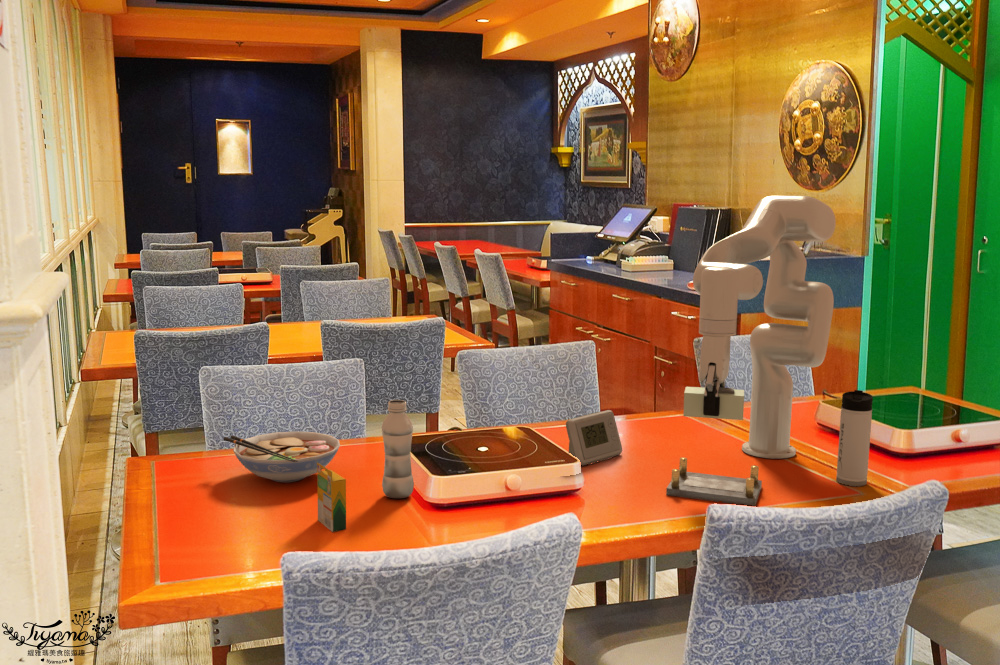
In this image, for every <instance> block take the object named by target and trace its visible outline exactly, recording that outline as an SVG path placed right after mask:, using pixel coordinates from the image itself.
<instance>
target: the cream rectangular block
mask: <svg viewBox="0 0 1000 665" xmlns="http://www.w3.org/2000/svg"><path fill="white" fill-rule="evenodd" d="M684 388H685V389H684V392H683V417H689V418H690V417H691V418H704V419H706V418H707V419H719V420H722V419H723V420H737V421H738V420H739V421H743V420H744V409H745V408H744V406H745V390H744V389H736V388H734V387H725V388H724V387H720V388H719V397H720V410H719V416H709V415H704V414H703V406H704V393H705V387H699V386H685V387H684ZM715 388H716V387H715Z"/></svg>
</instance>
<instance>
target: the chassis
mask: <svg viewBox="0 0 1000 665" xmlns="http://www.w3.org/2000/svg"><path fill="white" fill-rule="evenodd" d="M678 468H679V469H676V468H672V469H671V480H670V482H669V483H668V485H667V487H666V489H665V490H666V492H665V494H666V495H665V496H669V497H670V496H672V497H679V498H685V499H686V498H687V499H695V500H700V501H701V500H702V501H709V502H717V503H718V502H719V501H722V502H721V503H726V504H732V503H734V505H740V504H744V505H743V506H747V505H752V506H751V507H756V505H757V502H758V499H759V496H760V492H761V490H762V483H763V481H762V480H760V479H759V468H760V467H759V465H755V464H754V465H751V466H750V476H749V477H747V478H744V477H743V478H741V477H735V476H726V475H717V474H709V473H708V474H707V473H701V472H692V471H688V458H687V457H679V466H678ZM719 503H720V502H719Z"/></svg>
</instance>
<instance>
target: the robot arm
mask: <svg viewBox="0 0 1000 665" xmlns="http://www.w3.org/2000/svg"><path fill="white" fill-rule="evenodd" d="M835 230H836V216H835V213H834V211H833V209H832V208H831V206H829V205H828V204H826V203H825V202H823V201H821V200H819V199H818V198H815V197H812V196H808V195H777V194H776V195H769V196H765V197H763V198H761V199H760V200H759V201H758V202H757V203H756V204H755V207H754V208H753V210H752V211H751V212H750V215H749V217H748V218H747V220H746V221H745V223H744V225H743V226H742V228H741V230H739V231H737V232H735V233H733V234H732V233H731V234H730V235H729V236H726V237H725V238H723V239H721V240H719V241H716V242H715V243H714V244H712V245H711V246H710V247H709V248H708V249H706V251H705V252H704V253H703V255H702V256H701V259H700V260H699V262H698V263H697V266H696V267H695V270H694V272H693V277H692V286H693V290H695V292H696V293H697V294H698V295H699V296H700V297H699V298H700V299H699V319H698V320H699V323H698V334H699V335H702V338H701V339H702V340H701V346H700V347H701V348H700V355H699V356H700V358H699V370H698V381H699V383H703V382H704V381H705V383H704V384H705V385H704V388H705V393H704V406H703V414H704V415H709V416H719V410H720V397H719V388H720V387H724V388H726V379H727V378H728V376H729V372H730V361H731V359H730V358H731V343H732V341H731V337H733V336H736V335H737V323H738V319H737V318H738V306H739V304H738V303H739V302H738V300H741V301H748V300H749V301H750V300H752V299H755V298H756V297H758V295H759V294H760V292H761V290H762V288H763V284H764V278H763V274H762V272H761V270H760V269H759V268H758V267H756V266H755V265H751V263H755V262H758V261H760V260H764V259H766V258H768V257H769V267H768V274H767V281H766V286H765V292H764V298H763V310H764V313H765V315H767V316H769V317H770V318H774V319H779V320H787V321H798V322H799V321H800V322H807V326H806V325H795V324H789V323H787V324H786V323H777V322H776V323H775V322H767V323H761V324H759V325H757V326H756V327H754V328H753V329H752V331H751V334H750V338H749V345H750V348H749V349H750V354H751V364H752V365H751V367H752V375H751V376H752V377H751V378H752V379H751V380H752V381H751V397H750V398H751V399H750V414H749V416H750V418H749V434H748V441H747V442H744V443H742V445H741V450H742V452H744V453H745V454H747V455H750V456H754V457H756V458H763V459H772V460H773V459H775V460H776V459H779V460H780V459H789V458H792V457H795V455H796V454H797V453H796V452H797V450H796V448H795V447H794V446H793V445H791V443H790V442H791V441H790V440H791V439H790V438H791V426H792V425H791V423H792V409H793V394H794V392H793V391H794V381H793V378H792V376H791V373H790V371H789V370H788V369H787V367H786V366H793V367H802V368H803V367H804V368H816V367H819V366H821V365H822V364H823V362H824V361H825V358H826V356H827V355H826V354H827V350H828V344H829V338H830V333H831V326H832V319H833V313H834V305H835V304H834V303H835V301H834V300H835V299H834V292H833V290H832V288H831V286H829V285H828V284H827V283H824V282H819V281H810V280H808V281H807V280H806V279H805V278H806V272H807V265H808V263H807V262H808V261H807V259H806V256H805V254H804V253H803V251H802V249H801V248H800V247H799V246H798V244H797V243H796V242H811V243H812V242H815V243H816V242H817V243H818V242H819V243H820V242H821V243H823V242H826V241H828V240H830V239H831V237H832V236H833V235H834V232H835ZM715 387H716V388H715Z"/></svg>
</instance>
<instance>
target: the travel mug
mask: <svg viewBox="0 0 1000 665" xmlns="http://www.w3.org/2000/svg"><path fill="white" fill-rule="evenodd" d="M841 397H842V398H841V406H840V409H841V410H840V422H839V433H838V434H839V436H838V447H837V448H838V449H837V450H838V451H837V462H836V463H837V467H836V482H837V481H838V482H837V483H839V484H840V483H842V484H841V485H843V484H845V485H844V486H847V485H849V486H848V487H856V486H857V487H863V486H865V485H867V483H868V472H869V458H870V456H869V455H870V447H871V445H870V444H871V431H872V430H871V429H872V416H873V413H872V412H873V400H874V399H873V398H874V396H873V395H872V394H870V393H868V392H864V391H863V390H860V389H859V390H858V389H854V390H853V391H845V392H843V393H842V395H841Z"/></svg>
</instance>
